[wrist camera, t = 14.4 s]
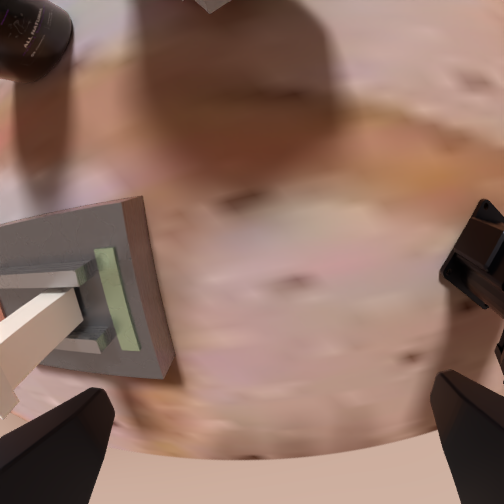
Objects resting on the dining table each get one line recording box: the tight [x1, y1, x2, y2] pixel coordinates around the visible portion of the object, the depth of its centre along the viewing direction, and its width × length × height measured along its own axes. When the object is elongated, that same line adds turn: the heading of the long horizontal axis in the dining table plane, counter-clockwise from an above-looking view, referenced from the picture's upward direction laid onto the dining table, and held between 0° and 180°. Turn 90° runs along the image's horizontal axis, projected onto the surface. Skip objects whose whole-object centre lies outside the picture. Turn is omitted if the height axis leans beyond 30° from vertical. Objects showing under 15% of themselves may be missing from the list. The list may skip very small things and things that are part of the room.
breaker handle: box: [0, 287, 83, 419], centre depth 13 cm, size 3×4×10 cm
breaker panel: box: [0, 196, 175, 379], centre depth 19 cm, size 17×12×5 cm
